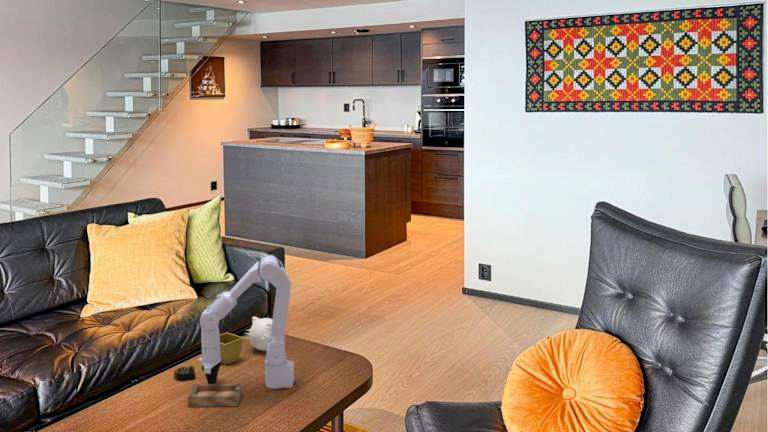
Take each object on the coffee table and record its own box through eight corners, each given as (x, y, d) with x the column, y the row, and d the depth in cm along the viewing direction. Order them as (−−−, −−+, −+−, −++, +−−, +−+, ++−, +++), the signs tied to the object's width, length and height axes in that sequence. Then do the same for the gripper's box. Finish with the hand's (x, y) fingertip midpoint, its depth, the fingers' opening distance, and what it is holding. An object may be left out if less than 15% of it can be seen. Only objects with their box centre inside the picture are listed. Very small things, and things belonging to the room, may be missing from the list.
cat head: (293, 349, 255) (292, 318, 253) (267, 360, 245) (266, 328, 243) (266, 339, 264) (265, 310, 262) (240, 349, 254) (239, 318, 252)
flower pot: (227, 354, 249) (227, 331, 247) (244, 360, 244) (243, 337, 242) (209, 362, 242) (208, 338, 240) (225, 368, 237) (224, 344, 235)
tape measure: (195, 383, 226) (195, 372, 225) (174, 385, 224) (174, 375, 223) (194, 374, 232) (194, 364, 232) (174, 377, 230) (173, 366, 229)
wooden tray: (242, 392, 216) (241, 381, 216) (237, 405, 208) (237, 394, 207) (194, 393, 216) (194, 382, 215) (188, 406, 207) (187, 395, 206)
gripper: (202, 337, 224) (204, 375, 227) (193, 355, 210) (195, 395, 212) (224, 337, 224) (225, 375, 227) (216, 354, 210) (217, 395, 213)
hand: (212, 385), depth 220 cm, fingers closed
